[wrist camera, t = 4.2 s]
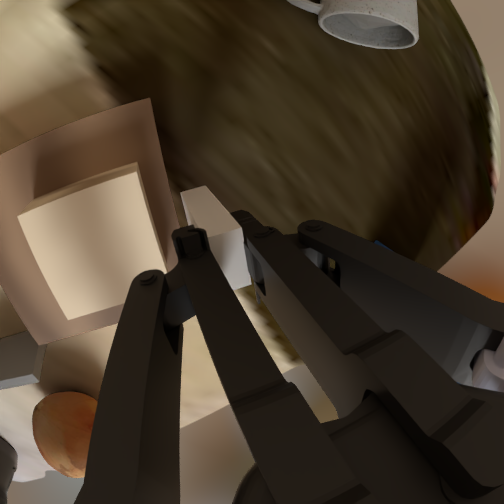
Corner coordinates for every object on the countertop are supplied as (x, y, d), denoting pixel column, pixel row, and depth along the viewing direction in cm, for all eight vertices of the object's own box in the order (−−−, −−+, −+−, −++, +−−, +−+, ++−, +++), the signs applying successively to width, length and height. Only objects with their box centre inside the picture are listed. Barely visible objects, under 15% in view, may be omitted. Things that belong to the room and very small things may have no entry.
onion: (100, 428, 30) (107, 495, 22) (30, 404, 25) (25, 474, 17) (127, 391, 29) (139, 469, 21) (45, 360, 23) (34, 443, 15)
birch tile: (74, 292, 18) (68, 320, 15) (33, 199, 14) (17, 216, 12) (166, 263, 20) (172, 288, 17) (137, 161, 16) (136, 171, 13)
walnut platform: (46, 315, 22) (38, 345, 18) (-19, 167, 15) (-43, 180, 11) (190, 270, 25) (199, 297, 22) (148, 100, 18) (150, 97, 15)
